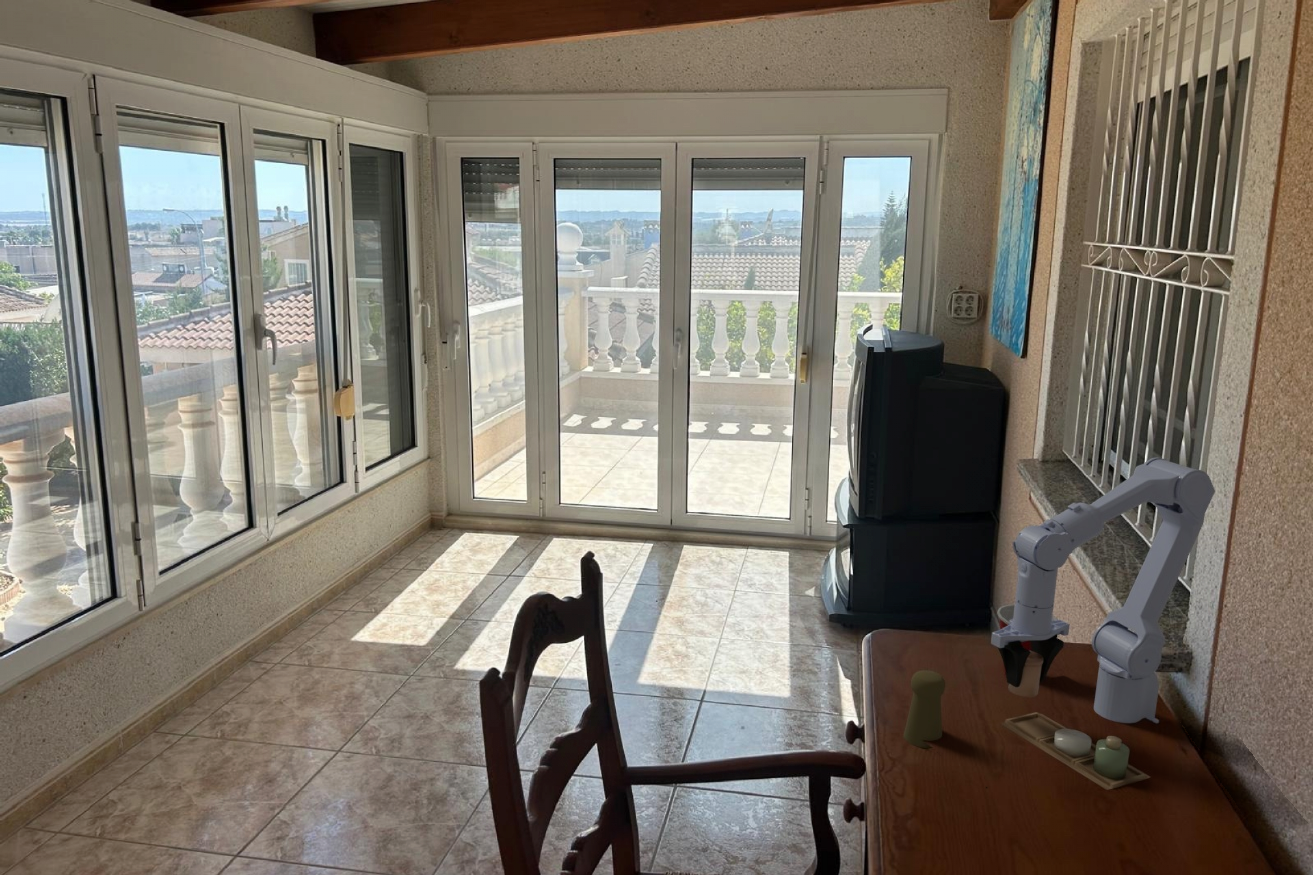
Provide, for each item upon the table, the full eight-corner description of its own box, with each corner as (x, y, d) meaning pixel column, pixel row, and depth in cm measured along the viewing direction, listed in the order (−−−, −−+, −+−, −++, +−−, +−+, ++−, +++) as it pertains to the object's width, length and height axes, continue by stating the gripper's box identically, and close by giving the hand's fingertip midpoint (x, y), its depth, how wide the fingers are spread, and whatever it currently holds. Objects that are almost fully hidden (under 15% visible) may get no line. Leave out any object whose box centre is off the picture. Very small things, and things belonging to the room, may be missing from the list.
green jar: (1107, 760, 149) (1111, 729, 148) (1132, 775, 145) (1137, 743, 144) (1086, 766, 147) (1091, 734, 146) (1111, 781, 143) (1116, 749, 142)
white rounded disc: (1070, 737, 155) (1072, 726, 155) (1097, 753, 151) (1099, 741, 150) (1046, 744, 153) (1047, 732, 153) (1072, 760, 149) (1074, 748, 148)
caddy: (1040, 720, 163) (1041, 710, 163) (1149, 784, 145) (1151, 773, 144) (999, 729, 160) (1000, 720, 159) (1106, 797, 141) (1107, 786, 141)
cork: (944, 750, 153) (950, 684, 150) (904, 745, 154) (910, 679, 152) (941, 731, 158) (947, 667, 156) (902, 726, 160) (908, 663, 157)
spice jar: (1022, 681, 162) (1027, 642, 161) (1045, 694, 158) (1051, 654, 156) (1000, 686, 160) (1005, 646, 158) (1023, 699, 156) (1029, 659, 154)
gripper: (1049, 587, 162) (1040, 664, 165) (980, 598, 156) (972, 678, 159) (1083, 602, 156) (1073, 682, 159) (1013, 614, 150) (1004, 697, 153)
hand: (1025, 681), depth 158 cm, fingers closed on spice jar, 5 cm apart
